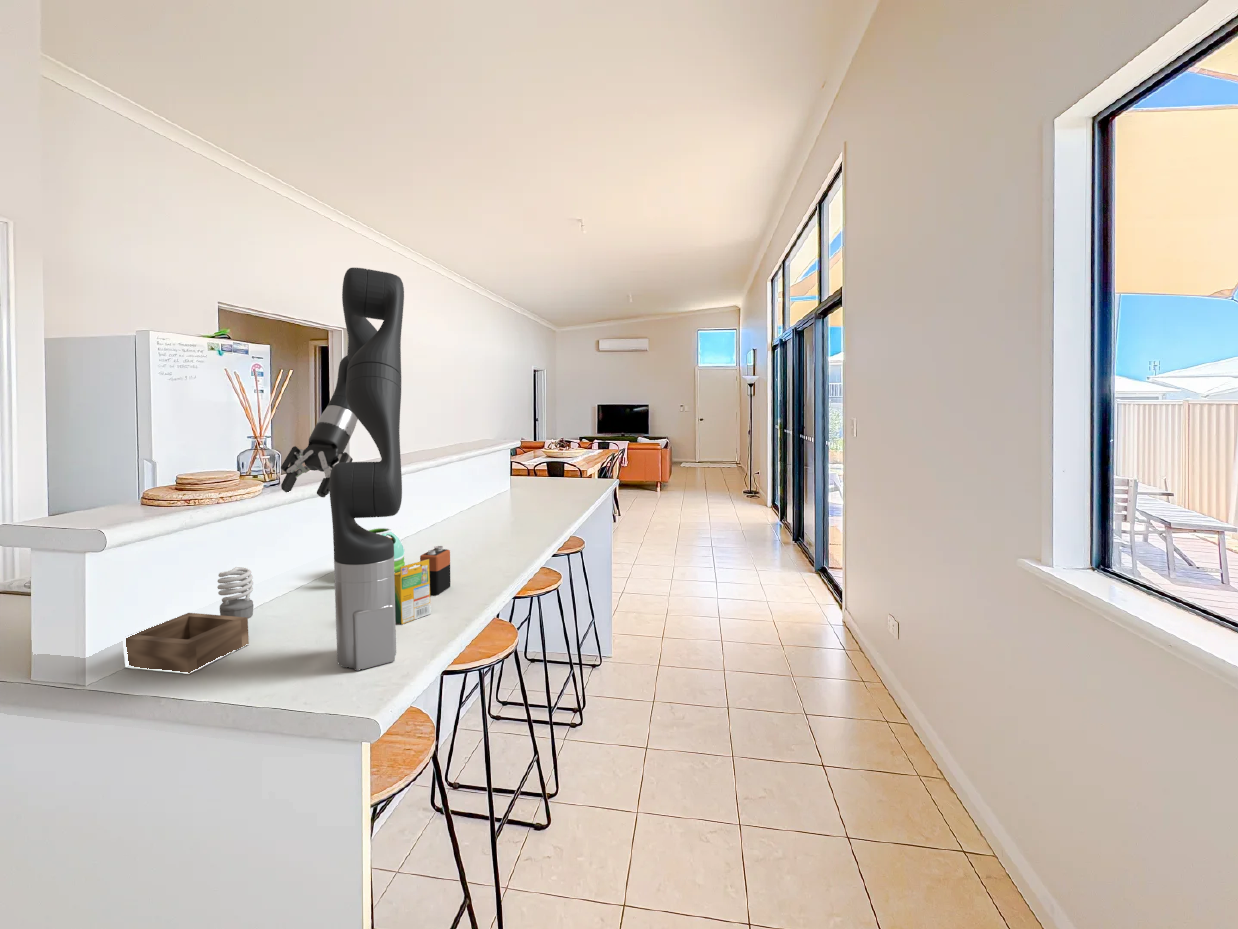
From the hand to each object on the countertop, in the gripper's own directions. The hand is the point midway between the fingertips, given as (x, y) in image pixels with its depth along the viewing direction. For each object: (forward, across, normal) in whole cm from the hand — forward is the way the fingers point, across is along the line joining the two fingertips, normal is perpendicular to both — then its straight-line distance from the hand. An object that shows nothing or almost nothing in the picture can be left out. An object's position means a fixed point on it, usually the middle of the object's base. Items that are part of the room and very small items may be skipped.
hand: (302, 493), depth 126 cm
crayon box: (+20, +29, +9) cm, 37 cm away
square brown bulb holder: (+36, +3, -10) cm, 37 cm away
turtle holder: (+9, +6, +28) cm, 30 cm away
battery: (+10, +25, +24) cm, 36 cm away
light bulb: (+30, +1, 0) cm, 30 cm away
